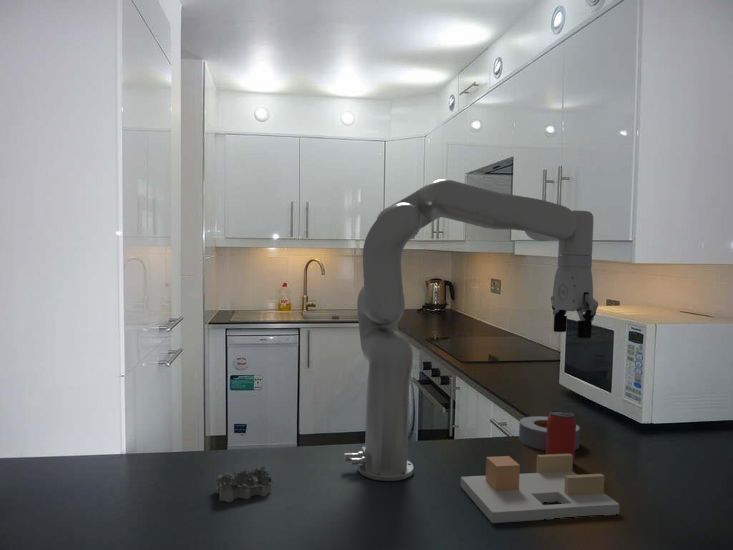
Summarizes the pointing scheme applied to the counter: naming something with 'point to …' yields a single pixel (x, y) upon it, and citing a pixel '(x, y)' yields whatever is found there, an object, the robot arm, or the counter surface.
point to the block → (502, 473)
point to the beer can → (561, 433)
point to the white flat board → (543, 493)
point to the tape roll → (538, 432)
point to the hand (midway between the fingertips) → (571, 334)
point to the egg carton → (243, 484)
